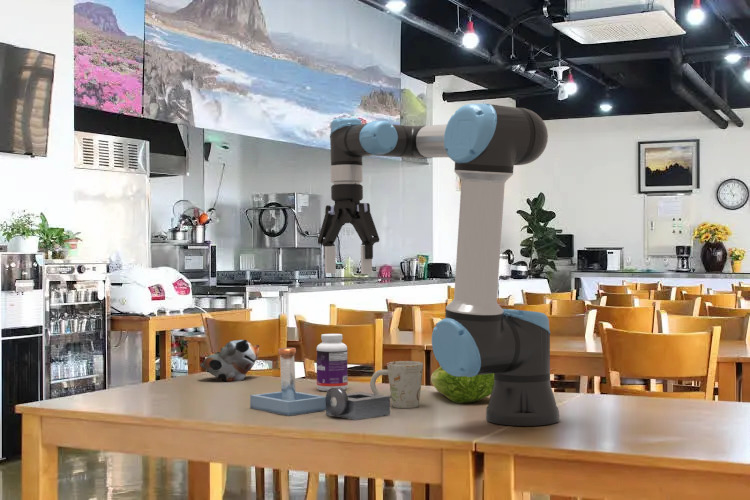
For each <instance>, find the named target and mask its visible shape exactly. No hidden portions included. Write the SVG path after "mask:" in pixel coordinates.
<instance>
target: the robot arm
mask: <svg viewBox="0 0 750 500" xmlns="http://www.w3.org/2000/svg"><path fill="white" fill-rule="evenodd" d="M548 133H549V132H548V128H547V126H546V123H545V122H544V120H543V119H542V117H540V116H539V115H538V114H537V113H536V112H534V111H533V110H531V109H527V108H525V107H513V106H506V105H500V104H499V105H498V104H491V103H484V102H483V103H467V104H464V105H462V106H460V107H459V108H457V109H456V111H455V112H454V114H452V115H451V117H450V118H449V120H448V122H447V123H446V124H434V125H432V124H430V125H403V124H394V123H393V124H391V123H390V122H389V121H387V120H372V121H370V122H367V123H362V120H361V119H359V118H357V117H341V118H335V119H333V120H332V121H331V123H330V134H329V141H330V146H329V147H330V182H331V183H332V185H331V186H330V187H331V188H330V196H331V197H330V198H331V200H332V201H333V202H334V205H325V210H324V211H325V212H324V213H325V215H324V218H323V222H322V225H321V228H320V232H319V235H318V239H317V243H318V244H319V245H320V244H321V245H322V246H323V256H324V257H323V258H324V274H336V273H337V272H336V271H337V269H336V268H337V265H336V262H337V260H336V257H337V256H336V253H337V252H336V244H335V242H336V240H337V238H338V236H339V234H340V232H341V230H342V228H343V227H344V225H346V224H350V225H352V226H353V228H354V230H355V232H356V233H357V235H358V237H359V239H360V241H361V243H360V274H362V275H365V274H373V257H374V245H375V244H376V243H379V242H380V237H379V234H378V231H377V228H376V225H375V222H374V219H373V216H372V214H371V206H370V203H369V202H368V203H367V202H361V201H362V200H363V199H364V188H363V187H364V186H363V185H362V184H361V183H362V182H363V158H364V157H375V156H376V157H390V158H392V157H393V158H409V159H419V160H427V159H433V158H435V159H436V158H449V159H450V160H451V161H453V162H454V171H453V172H454V173H455V174H456V175H457V177H458V178H459V179H460V181H461V182H460V198H459V215H458V229H457V231H458V232H457V243H456V244H457V247H456V263H455V264H456V265H455V277H454V279H455V280H454V291H453V293H454V294H453V300H452V301H450V302H449V303H448V304H447V305H446V306H445V316H444V318H443V319H441V320H440V321H438V322H437V323H436V325H435V326H434V328H433V330H432V334H431V348H432V352H433V355H434V357H435V360H436V361H437V362H438V364H439V367H441V368H442V369H443V370H444V371H446V372H447V373H448V374H450V375H453V376H458V377H460V376H467V377H473V376H476V375H484V374H492V373H494V386H493V389H492V392H491V395H489V396H490V397H489V401H488V405H487V406H486V409H485V419H486V421H487V422H490V423H491V424H495V425H496V424H497V425H505V426H518V427H519V426H523V427H527V426H529V427H534V426H545V425H552V424H557V423H558V422H559V421H560V409H559V407H558V406H557V402H556V398H555V395H554V392H553V389H552V385H551V330H550V320H549V317H548V316H547V314H546V313H544V312H541V311H531V310H523V309H522V310H521V309H520V310H519V309H512V308H511V309H509V308H502V307H501V305H499V303H498V301H497V300H498V289H499V288H498V287H499V286H498V285H499V273H500V259H501V245H502V244H501V243H502V228H503V213H504V198H505V185H506V182H507V181H508V180H509V179H510V178H511V177H512V176H513V175H514V166H523V165H528V164H530V163H533V162H534V161H536V160H538V158H540V157H541V156H542V154H543V153H544V152H545V149H546V148H547V144H548V140H549V134H548Z"/></svg>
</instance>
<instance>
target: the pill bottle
mask: <svg viewBox="0 0 750 500" xmlns="http://www.w3.org/2000/svg"><path fill="white" fill-rule="evenodd" d="M320 339H321V341H322V342H320V343H319V344H318V345H317V346H316V348H315V349H316V352H315V353H316V388H317V390H319V391H322V392H328V390H329V389H331V388H336V387H341V388H342V389H344V390H345V391H346V389H348V386H349V385H348V381H349V380H348V378H349V377H348V346H347V344H345V343H344V342H343V334H342V333H324V334H323V333H322V334H321V336H320Z"/></svg>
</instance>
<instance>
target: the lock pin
mask: <svg viewBox="0 0 750 500" xmlns="http://www.w3.org/2000/svg"><path fill="white" fill-rule="evenodd" d="M277 351H278V355H279V356H280V357H279V359H280V360H279V361H280V385H281V387H280V388H281V389H280V390H281V391H280V392H281V393H282V400H286V401H293V400H296V392H297V391H296V372H295V371H296V367H295V366H296V365H295V355H296V354H297V348H296V347H281V348H278V349H277Z"/></svg>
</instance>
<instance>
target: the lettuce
mask: <svg viewBox="0 0 750 500" xmlns="http://www.w3.org/2000/svg"><path fill="white" fill-rule="evenodd" d="M430 382H431V384H432V385H433V387H434V389H436V391H437V392H438V393H440V394H441V395H443V396H445V397H446V398H447V399H448V400H450V401H452V402H454V403H458V404H470V403H476V402H479V401H480V400H482V399H485V398H487V397H489V396H491V392H492V389H493V386H494V373H492V374H484V375H476V376H473V377H467V376H460V377H458V376H453V375H450V374H448V373H447V372H446V371H444V370H443V369H442V368H441V366H439V367H438V368H437V369H435V370H434V371H432V373H431V376H430Z"/></svg>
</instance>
